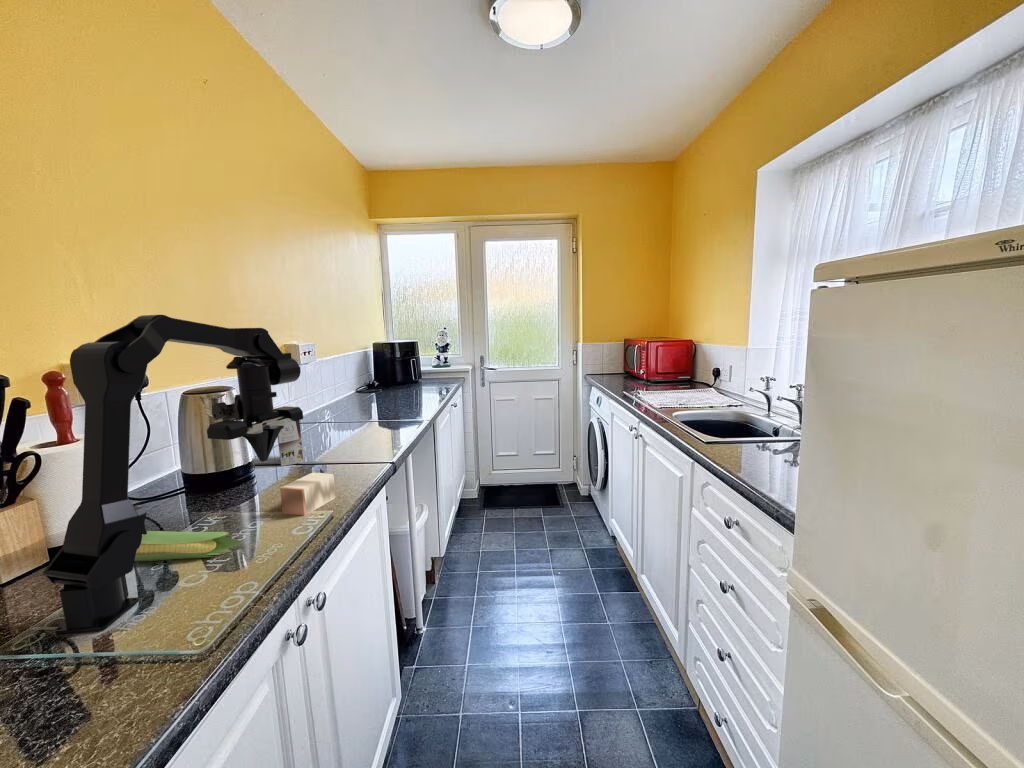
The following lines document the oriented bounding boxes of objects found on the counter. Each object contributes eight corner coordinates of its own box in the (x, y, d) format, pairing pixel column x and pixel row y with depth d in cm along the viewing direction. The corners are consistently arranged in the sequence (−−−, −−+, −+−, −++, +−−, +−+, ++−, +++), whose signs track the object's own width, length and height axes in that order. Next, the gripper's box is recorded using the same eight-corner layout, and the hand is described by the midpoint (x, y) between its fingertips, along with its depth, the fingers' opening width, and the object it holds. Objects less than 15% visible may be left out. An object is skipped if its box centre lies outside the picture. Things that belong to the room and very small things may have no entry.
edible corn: (135, 529, 79) (113, 534, 74) (244, 527, 80) (229, 532, 75) (131, 558, 78) (109, 565, 73) (241, 556, 79) (226, 562, 74)
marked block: (301, 489, 92) (333, 474, 101) (279, 487, 93) (312, 472, 103) (304, 515, 92) (335, 497, 102) (282, 513, 94) (315, 495, 104)
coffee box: (304, 462, 130) (299, 411, 128) (280, 466, 127) (275, 414, 125) (302, 455, 138) (297, 407, 136) (279, 459, 135) (274, 409, 133)
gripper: (263, 382, 98) (270, 446, 101) (180, 395, 81) (191, 473, 83) (301, 382, 95) (308, 449, 97) (224, 396, 77) (234, 477, 80)
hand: (263, 461), depth 89 cm, fingers closed
